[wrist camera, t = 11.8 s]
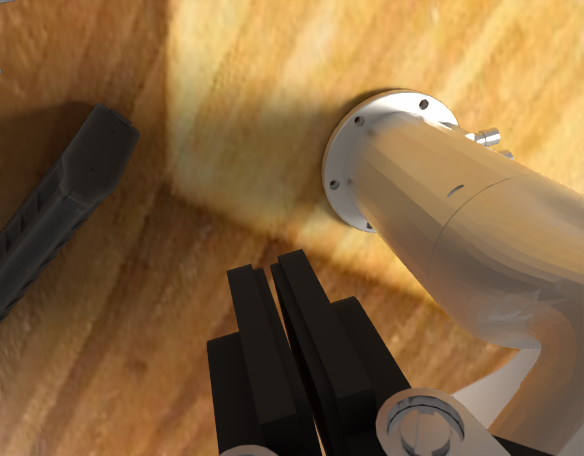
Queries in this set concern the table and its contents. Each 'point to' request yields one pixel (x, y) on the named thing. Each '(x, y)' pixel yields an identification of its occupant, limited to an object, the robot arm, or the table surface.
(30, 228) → the magazine
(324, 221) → the table surface
